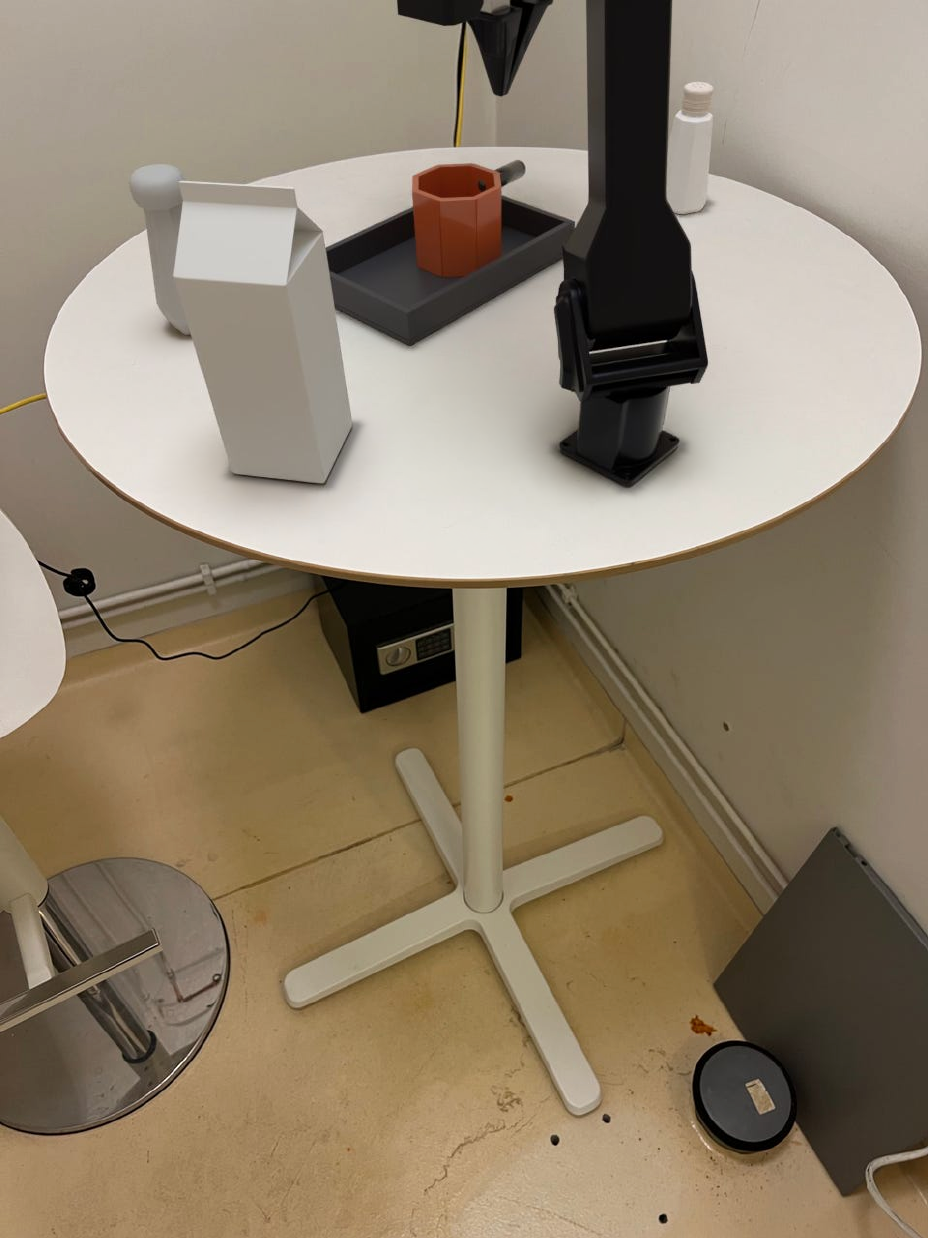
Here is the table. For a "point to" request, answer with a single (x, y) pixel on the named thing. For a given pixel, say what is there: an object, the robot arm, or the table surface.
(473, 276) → the black tray
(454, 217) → the pot
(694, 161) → the pepper shaker
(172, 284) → the salt shaker
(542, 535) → the table surface
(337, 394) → the milk carton
